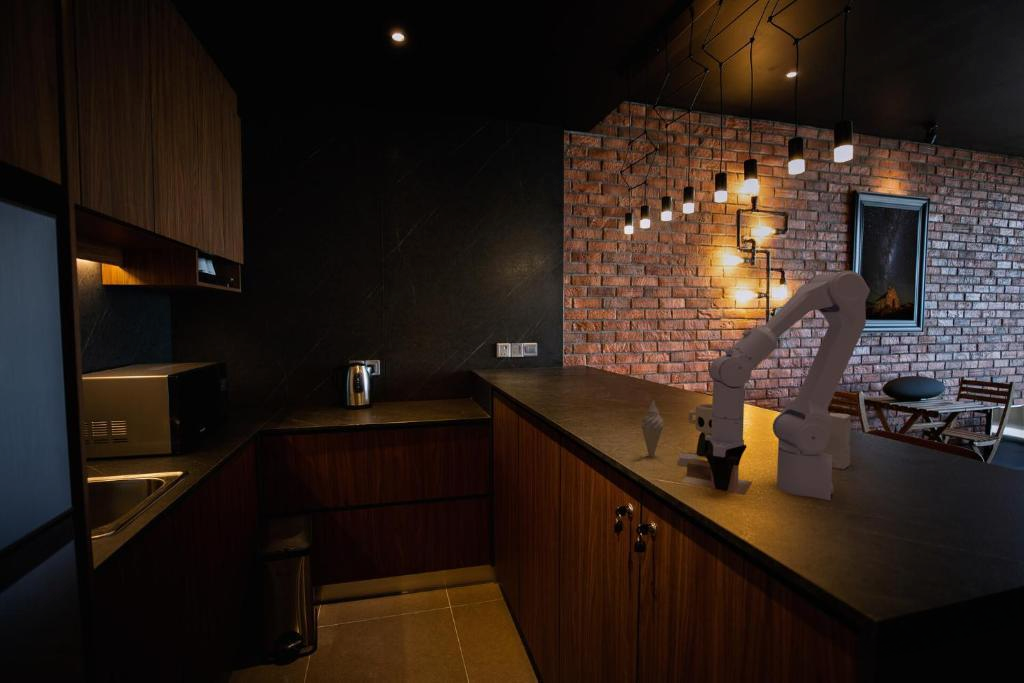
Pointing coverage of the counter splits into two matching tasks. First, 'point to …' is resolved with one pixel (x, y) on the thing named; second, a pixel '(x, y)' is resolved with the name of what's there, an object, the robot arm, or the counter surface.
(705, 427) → the character mug
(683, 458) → the grey block
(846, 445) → the skincare box
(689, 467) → the walnut bar
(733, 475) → the terracotta cube
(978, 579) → the counter surface
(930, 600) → the counter surface
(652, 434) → the ice cream cone
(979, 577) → the counter surface
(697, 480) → the birch board
